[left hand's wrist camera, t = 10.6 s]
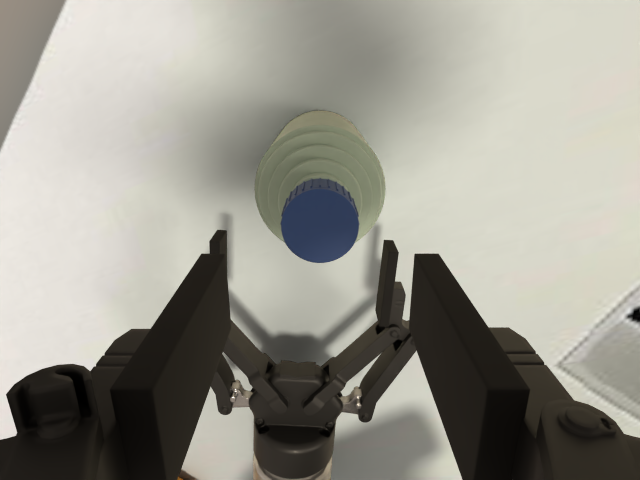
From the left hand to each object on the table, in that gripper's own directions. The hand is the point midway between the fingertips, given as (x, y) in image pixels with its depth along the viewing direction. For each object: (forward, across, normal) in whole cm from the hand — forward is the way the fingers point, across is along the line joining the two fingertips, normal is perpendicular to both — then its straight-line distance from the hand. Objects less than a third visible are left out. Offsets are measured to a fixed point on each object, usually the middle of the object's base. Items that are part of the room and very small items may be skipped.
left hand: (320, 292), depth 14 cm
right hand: (+20, +1, +5) cm, 21 cm away
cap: (+7, 0, 0) cm, 7 cm away
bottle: (+26, 0, 0) cm, 26 cm away
